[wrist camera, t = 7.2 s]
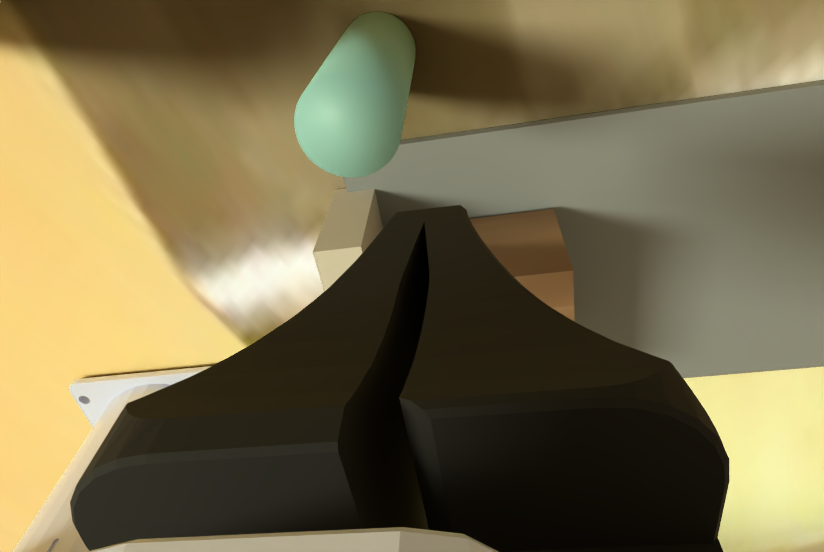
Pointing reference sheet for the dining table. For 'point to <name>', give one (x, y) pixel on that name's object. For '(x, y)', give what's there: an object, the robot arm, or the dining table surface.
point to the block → (532, 254)
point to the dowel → (358, 98)
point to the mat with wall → (644, 218)
